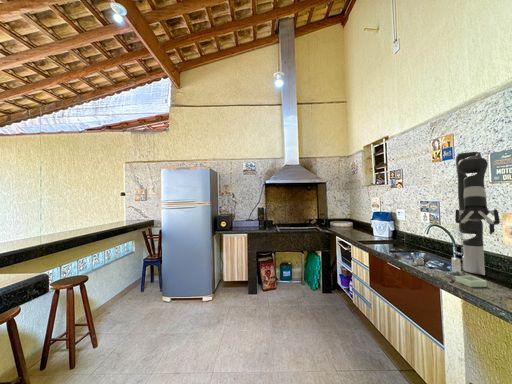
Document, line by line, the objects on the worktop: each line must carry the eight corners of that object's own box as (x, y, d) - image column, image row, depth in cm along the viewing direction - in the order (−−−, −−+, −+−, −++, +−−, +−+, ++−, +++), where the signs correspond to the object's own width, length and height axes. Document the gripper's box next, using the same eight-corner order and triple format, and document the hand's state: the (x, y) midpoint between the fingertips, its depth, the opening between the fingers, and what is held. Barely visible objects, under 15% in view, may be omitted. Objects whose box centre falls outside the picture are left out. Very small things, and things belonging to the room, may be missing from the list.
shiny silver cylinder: (449, 277, 133) (448, 257, 134) (457, 277, 133) (456, 257, 134) (456, 279, 129) (455, 259, 129) (464, 279, 129) (463, 259, 129)
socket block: (445, 278, 135) (444, 272, 135) (457, 278, 135) (457, 272, 135) (456, 283, 127) (455, 277, 127) (469, 282, 127) (469, 276, 127)
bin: (455, 283, 127) (455, 275, 127) (471, 283, 127) (471, 275, 127) (470, 289, 118) (469, 281, 118) (487, 289, 118) (486, 281, 118)
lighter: (422, 264, 165) (421, 252, 165) (423, 264, 163) (422, 253, 164) (411, 263, 166) (410, 252, 167) (412, 264, 165) (411, 253, 165)
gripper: (496, 200, 104) (500, 236, 100) (454, 201, 114) (456, 233, 109) (497, 194, 99) (501, 232, 95) (453, 195, 109) (455, 229, 104)
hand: (477, 232), depth 102 cm, fingers open, 8 cm apart
